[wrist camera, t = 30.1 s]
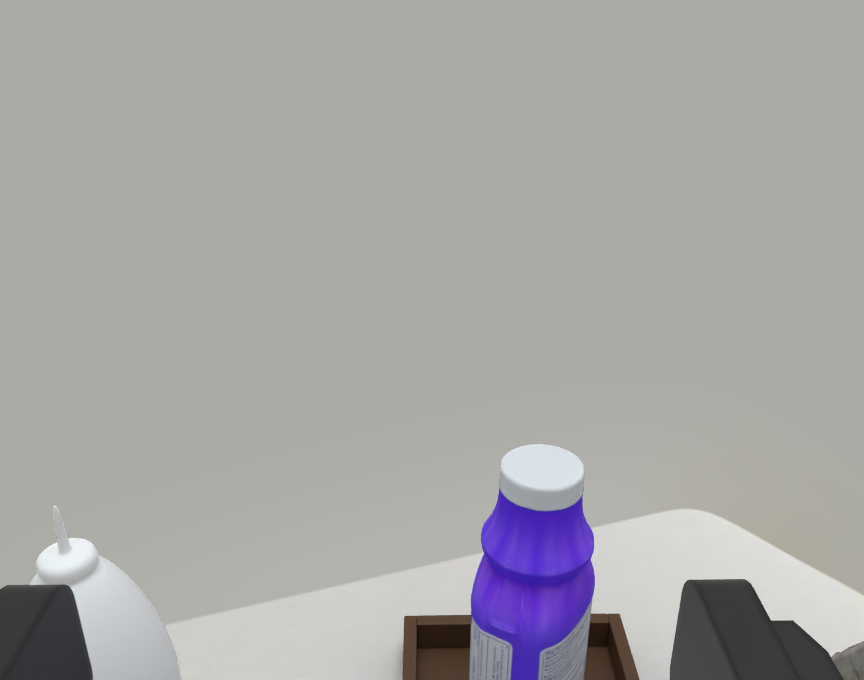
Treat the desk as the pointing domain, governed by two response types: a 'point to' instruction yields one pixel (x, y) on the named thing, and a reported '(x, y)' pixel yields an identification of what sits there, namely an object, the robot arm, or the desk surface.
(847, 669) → the bowl
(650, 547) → the desk surface
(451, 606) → the desk surface
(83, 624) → the white air blower bulb
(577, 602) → the bottle
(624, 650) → the tray
